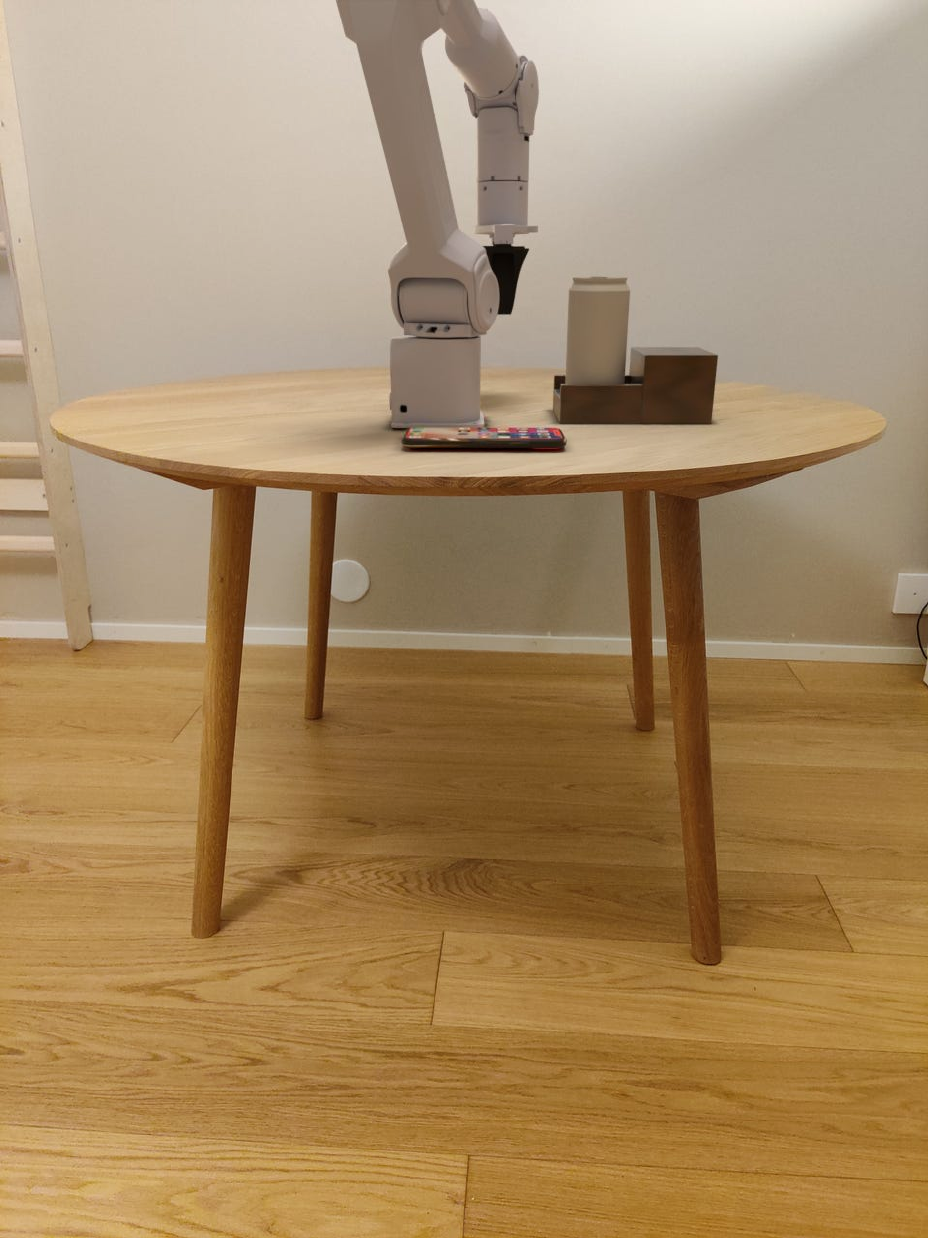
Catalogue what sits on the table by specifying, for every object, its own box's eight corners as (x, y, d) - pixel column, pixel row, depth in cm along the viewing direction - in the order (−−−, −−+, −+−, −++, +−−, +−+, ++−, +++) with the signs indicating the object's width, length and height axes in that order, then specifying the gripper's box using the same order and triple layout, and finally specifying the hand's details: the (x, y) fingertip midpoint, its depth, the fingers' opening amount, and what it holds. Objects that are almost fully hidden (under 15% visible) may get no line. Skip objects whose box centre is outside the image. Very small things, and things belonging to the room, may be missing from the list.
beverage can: (628, 391, 102) (635, 275, 98) (618, 398, 97) (625, 276, 92) (572, 388, 104) (576, 275, 100) (558, 395, 98) (563, 276, 94)
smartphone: (406, 426, 90) (561, 426, 89) (406, 436, 90) (560, 436, 90) (400, 439, 83) (567, 439, 82) (400, 449, 83) (567, 450, 83)
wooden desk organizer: (559, 423, 97) (562, 354, 95) (552, 410, 105) (554, 346, 103) (711, 423, 97) (718, 355, 94) (692, 410, 105) (698, 347, 103)
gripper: (543, 177, 95) (539, 316, 100) (534, 186, 108) (531, 308, 113) (475, 177, 95) (474, 316, 100) (474, 186, 108) (474, 308, 113)
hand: (500, 312), depth 106 cm, fingers open, 7 cm apart
